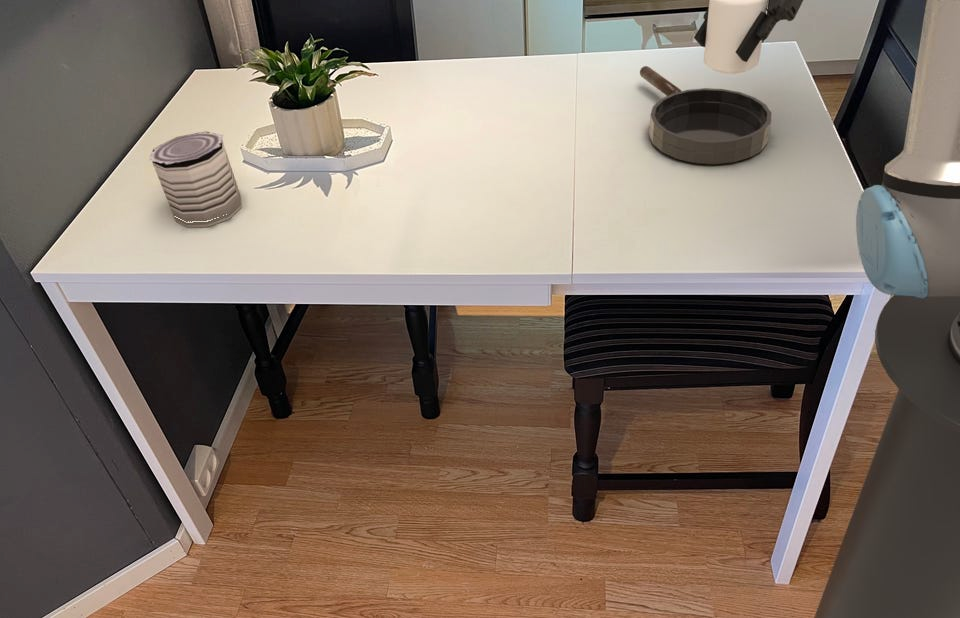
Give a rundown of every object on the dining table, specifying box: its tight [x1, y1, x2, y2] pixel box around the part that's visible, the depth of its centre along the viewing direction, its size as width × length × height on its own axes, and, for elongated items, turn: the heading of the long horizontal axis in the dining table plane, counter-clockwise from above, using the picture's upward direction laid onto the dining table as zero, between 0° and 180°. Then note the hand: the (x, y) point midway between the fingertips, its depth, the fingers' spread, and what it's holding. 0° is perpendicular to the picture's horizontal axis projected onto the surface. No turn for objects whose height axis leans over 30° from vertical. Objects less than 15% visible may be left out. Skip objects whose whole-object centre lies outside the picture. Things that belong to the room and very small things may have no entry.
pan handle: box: [639, 65, 682, 97], centre depth 144 cm, size 13×2×2 cm, turn 20°
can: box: [148, 130, 243, 229], centre depth 127 cm, size 11×11×12 cm
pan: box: [648, 87, 772, 165], centre depth 133 cm, size 19×19×4 cm
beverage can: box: [703, 0, 769, 75], centre depth 117 cm, size 8×8×12 cm
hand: (719, 49), depth 117 cm, fingers closed on beverage can, 7 cm apart
